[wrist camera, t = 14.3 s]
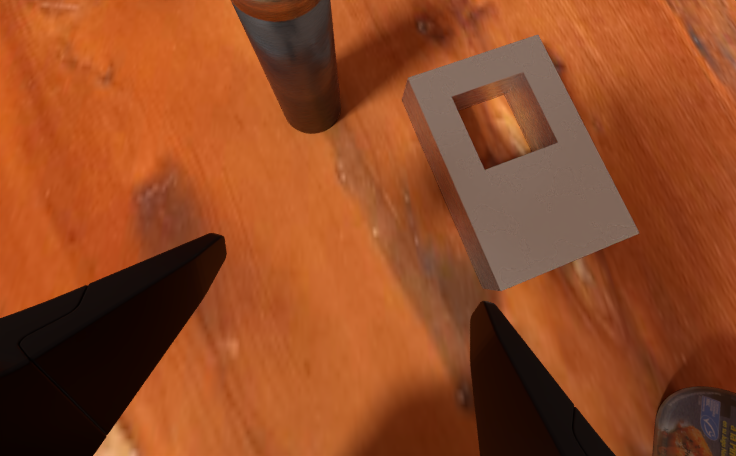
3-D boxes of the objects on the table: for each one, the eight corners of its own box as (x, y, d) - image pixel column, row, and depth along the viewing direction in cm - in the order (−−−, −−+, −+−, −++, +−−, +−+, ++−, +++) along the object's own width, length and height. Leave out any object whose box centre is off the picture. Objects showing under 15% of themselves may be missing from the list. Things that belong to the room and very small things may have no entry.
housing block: (482, 288, 23) (500, 291, 20) (401, 100, 26) (407, 78, 23) (605, 237, 24) (639, 233, 22) (517, 60, 27) (538, 34, 24)
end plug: (294, 142, 25) (225, 3, 12) (274, 90, 25) (190, -95, 12) (349, 123, 25) (342, -31, 12) (329, 72, 26) (302, -124, 13)
